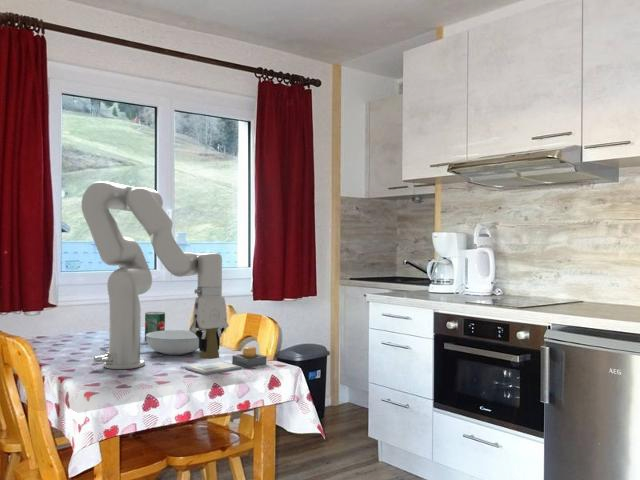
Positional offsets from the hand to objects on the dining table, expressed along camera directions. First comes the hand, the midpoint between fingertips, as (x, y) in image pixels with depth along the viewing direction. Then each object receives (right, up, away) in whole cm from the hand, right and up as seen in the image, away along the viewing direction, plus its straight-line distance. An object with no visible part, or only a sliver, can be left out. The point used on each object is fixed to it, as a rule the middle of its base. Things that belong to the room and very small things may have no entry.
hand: (209, 349), depth 186 cm
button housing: (+12, -7, +9) cm, 16 cm away
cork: (0, -2, 0) cm, 2 cm away
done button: (+12, -4, +9) cm, 15 cm away
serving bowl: (-17, -6, +27) cm, 33 cm away
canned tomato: (-32, -6, +55) cm, 64 cm away
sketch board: (+1, -6, +1) cm, 7 cm away
